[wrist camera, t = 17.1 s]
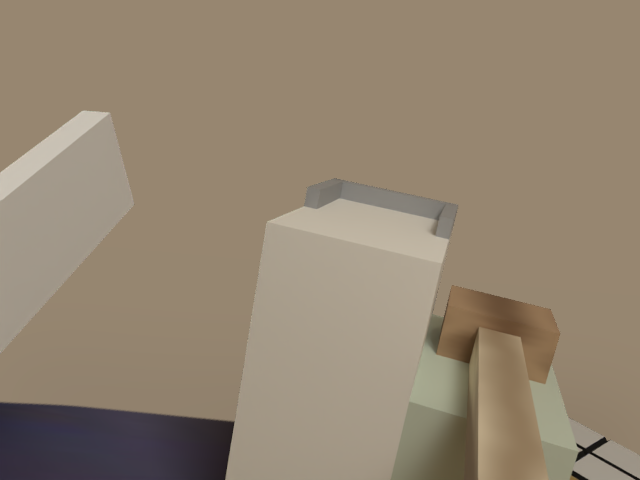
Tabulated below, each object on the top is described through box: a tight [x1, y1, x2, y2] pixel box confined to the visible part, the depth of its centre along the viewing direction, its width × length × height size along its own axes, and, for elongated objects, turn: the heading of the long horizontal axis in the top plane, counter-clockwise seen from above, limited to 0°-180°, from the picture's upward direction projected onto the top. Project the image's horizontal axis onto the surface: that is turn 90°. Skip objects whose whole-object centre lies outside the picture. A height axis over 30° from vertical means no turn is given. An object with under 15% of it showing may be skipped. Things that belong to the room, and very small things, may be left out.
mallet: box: [436, 285, 560, 480], centre depth 35 cm, size 8×28×4 cm, turn 164°
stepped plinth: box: [225, 179, 579, 480], centre depth 45 cm, size 21×18×30 cm
